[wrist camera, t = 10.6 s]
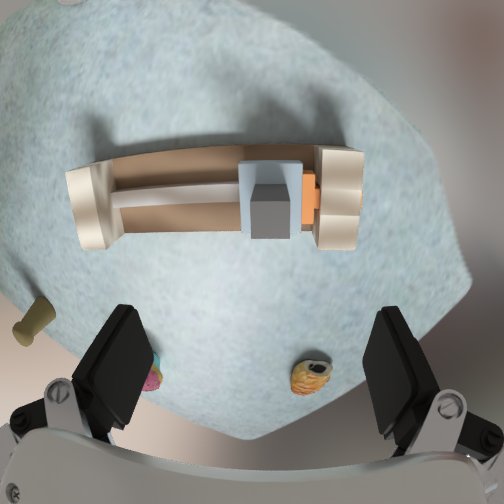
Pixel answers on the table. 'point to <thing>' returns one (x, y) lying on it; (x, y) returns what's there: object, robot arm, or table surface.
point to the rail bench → (196, 172)
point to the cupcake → (153, 376)
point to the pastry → (310, 376)
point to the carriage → (270, 198)
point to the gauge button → (310, 197)
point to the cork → (34, 321)
